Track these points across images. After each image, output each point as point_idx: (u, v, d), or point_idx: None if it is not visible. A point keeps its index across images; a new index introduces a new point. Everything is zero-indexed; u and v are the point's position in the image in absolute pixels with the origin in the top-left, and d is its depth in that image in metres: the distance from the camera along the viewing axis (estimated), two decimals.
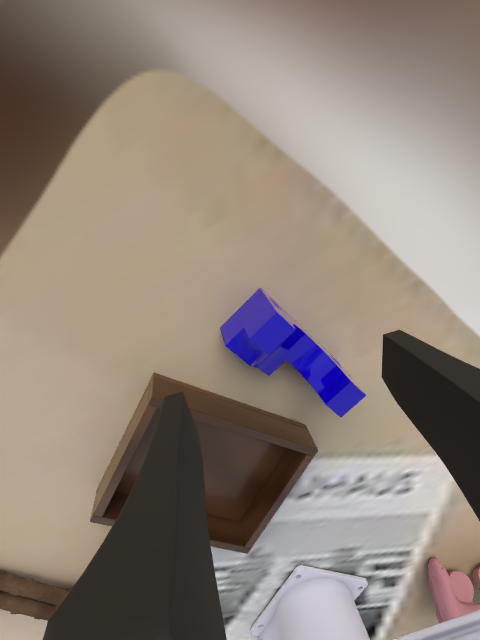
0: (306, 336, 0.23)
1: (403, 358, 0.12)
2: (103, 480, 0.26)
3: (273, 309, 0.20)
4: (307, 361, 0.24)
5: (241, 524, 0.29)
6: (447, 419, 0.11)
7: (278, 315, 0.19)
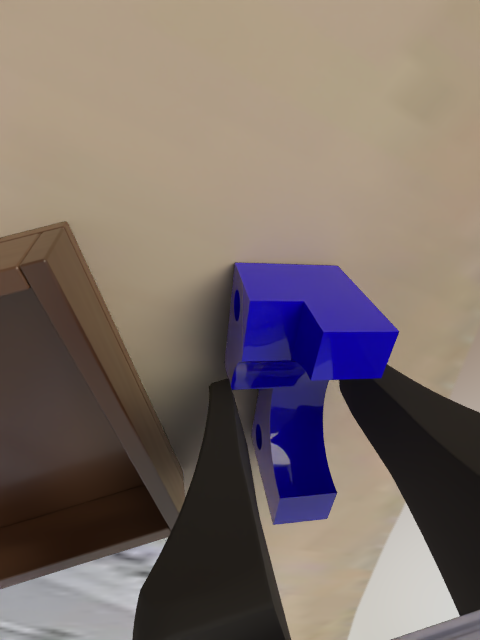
0: (325, 382, 0.13)
1: None
2: None
3: (386, 321, 0.10)
4: (291, 413, 0.14)
5: None
6: (393, 435, 0.11)
7: (393, 338, 0.10)
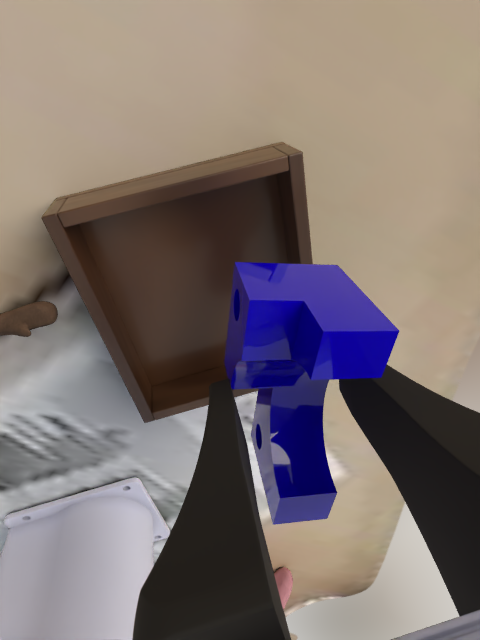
0: (325, 381, 0.13)
1: None
2: (90, 193, 0.16)
3: (386, 320, 0.10)
4: (292, 412, 0.14)
5: (154, 389, 0.22)
6: (392, 436, 0.11)
7: (393, 338, 0.09)
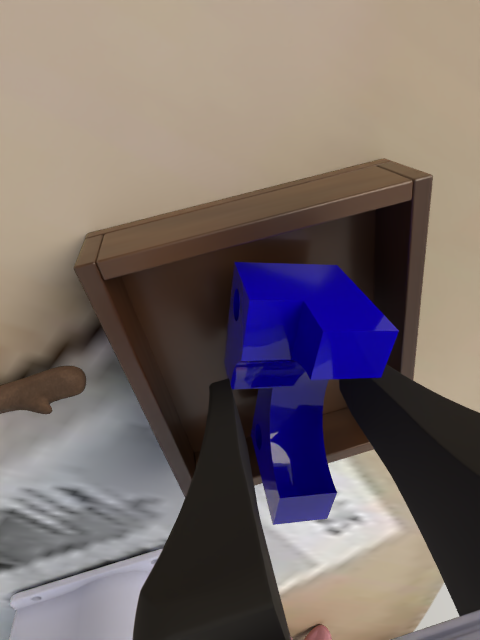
0: (325, 381, 0.13)
1: None
2: (134, 228, 0.12)
3: (386, 320, 0.10)
4: (292, 412, 0.14)
5: None
6: (392, 436, 0.11)
7: (393, 338, 0.09)
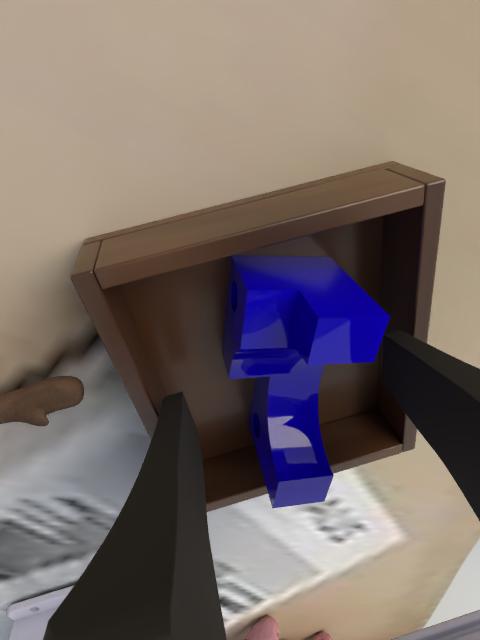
0: (320, 369, 0.14)
1: (403, 358, 0.12)
2: (134, 233, 0.11)
3: (378, 307, 0.10)
4: (288, 400, 0.14)
5: None
6: (447, 419, 0.11)
7: (384, 323, 0.10)
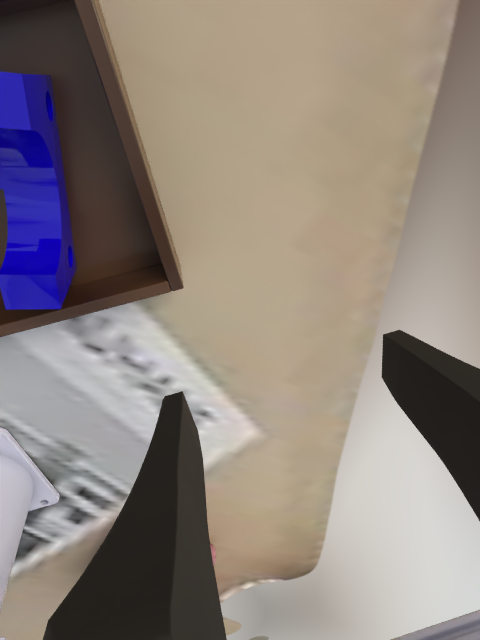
0: (55, 186, 0.15)
1: (403, 358, 0.12)
2: None
3: (23, 73, 0.12)
4: (29, 217, 0.15)
5: None
6: (447, 419, 0.11)
7: (20, 82, 0.11)
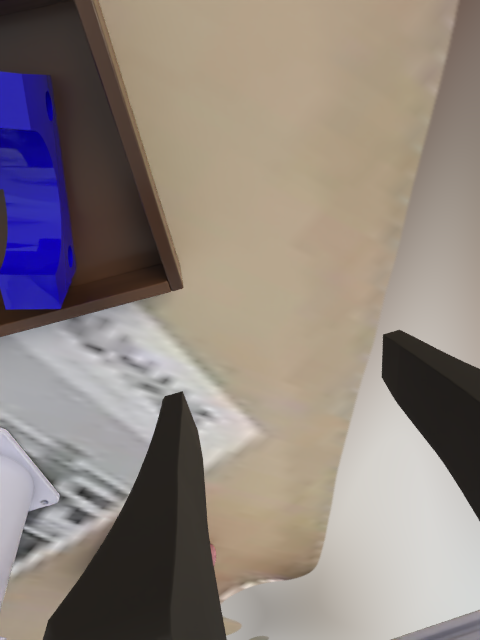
0: (55, 186, 0.15)
1: (403, 358, 0.12)
2: None
3: (23, 73, 0.12)
4: (29, 217, 0.15)
5: None
6: (447, 419, 0.11)
7: (20, 82, 0.11)
